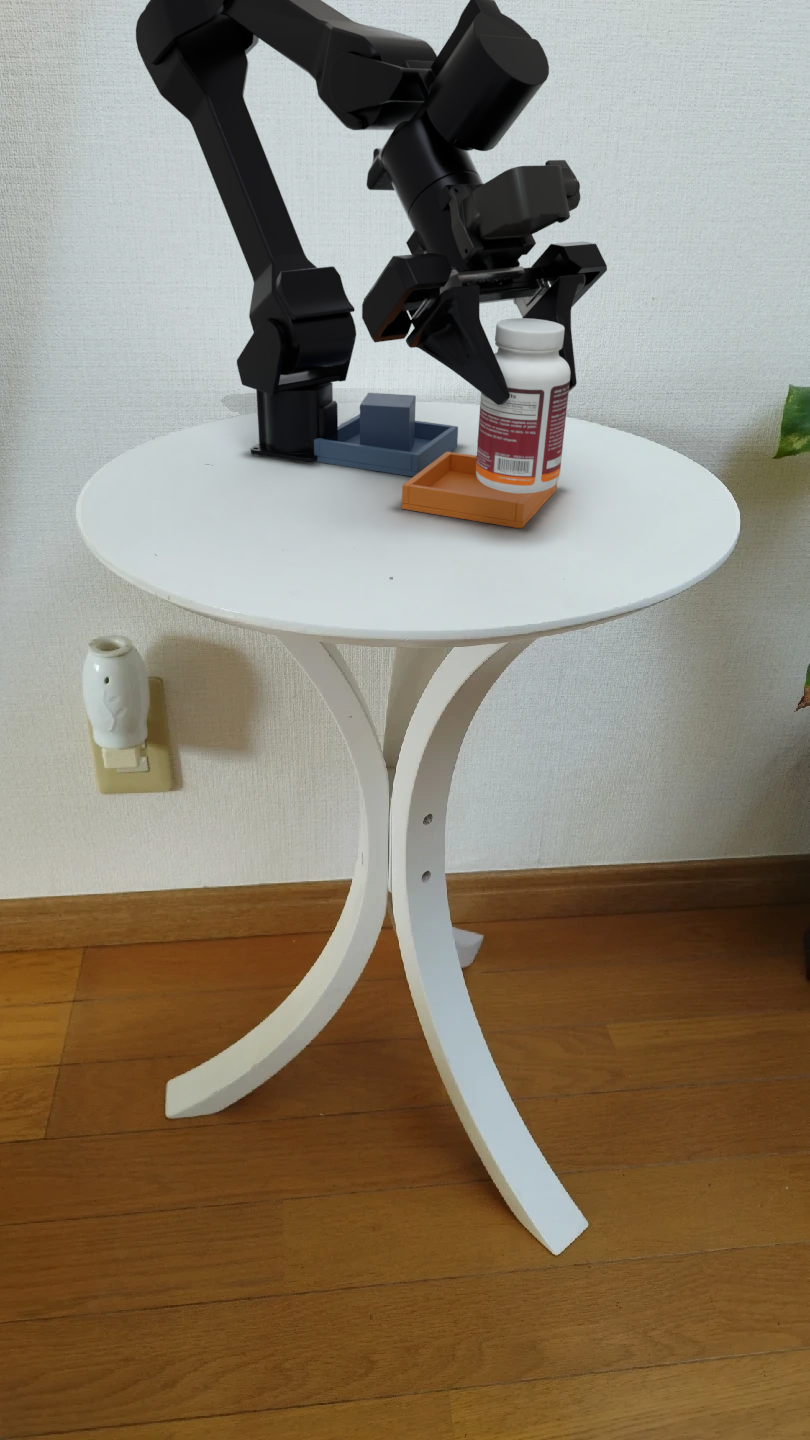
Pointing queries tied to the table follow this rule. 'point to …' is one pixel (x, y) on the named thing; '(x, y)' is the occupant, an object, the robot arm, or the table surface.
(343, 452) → the slate tray
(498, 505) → the amber tray
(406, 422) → the slate block
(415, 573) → the table surface
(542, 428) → the pill bottle
